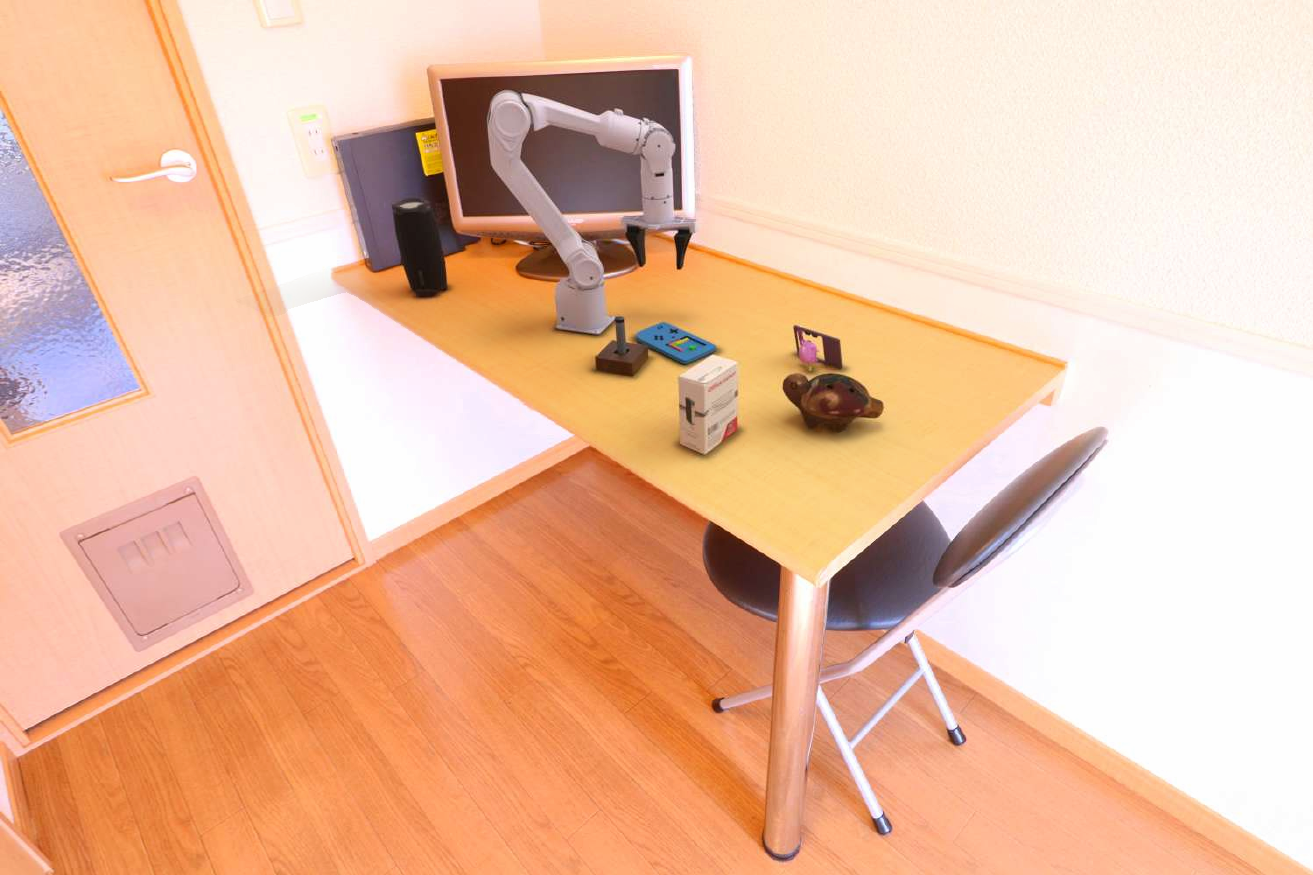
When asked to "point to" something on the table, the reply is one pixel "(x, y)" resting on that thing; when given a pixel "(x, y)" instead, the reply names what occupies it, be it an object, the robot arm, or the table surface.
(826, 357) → the purple frame with figurine
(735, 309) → the table surface
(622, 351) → the dark grey cylinder rod
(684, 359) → the handheld gaming device
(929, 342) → the table surface
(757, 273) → the table surface
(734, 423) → the ink box
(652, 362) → the table surface
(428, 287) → the portable speaker
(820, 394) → the decorative turtle
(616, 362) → the brown block with hole
